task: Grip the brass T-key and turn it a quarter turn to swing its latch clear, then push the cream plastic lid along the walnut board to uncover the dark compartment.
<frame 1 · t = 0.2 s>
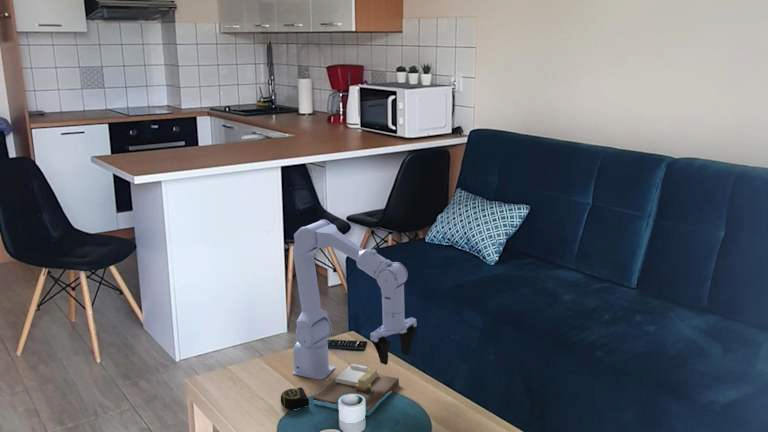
hand: (394, 358, 184), 10 cm above the table, fingers open, 7 cm apart
tape measure: (297, 406, 182), on the table
lock board: (357, 394, 186), on the table
t-key: (363, 381, 183), point 5 cm above the table, hinge at 0.0°
lid: (357, 375, 190), point 3 cm above the table, slide at 0.0 cm
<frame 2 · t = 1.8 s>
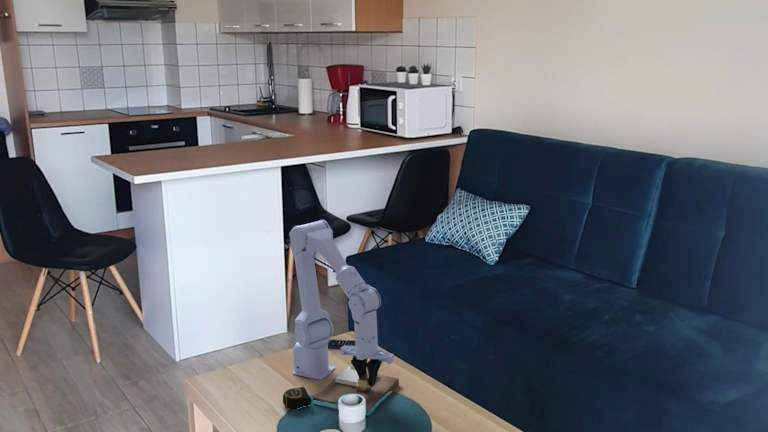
hand: (368, 383, 182), 4 cm above the table, fingers closed on t-key, 2 cm apart
t-key: (363, 381, 183), point 5 cm above the table, hinge at 0.0°, touching gripper
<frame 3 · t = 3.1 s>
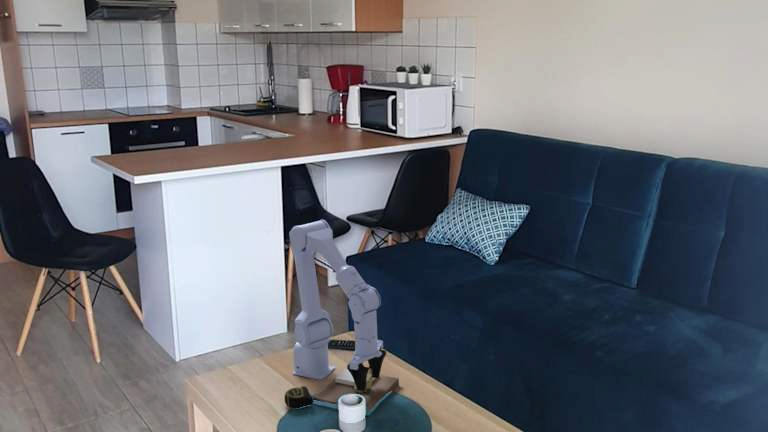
hand: (368, 383, 182), 4 cm above the table
t-key: (363, 382, 182), point 5 cm above the table, hinge at 24.1°, touching gripper
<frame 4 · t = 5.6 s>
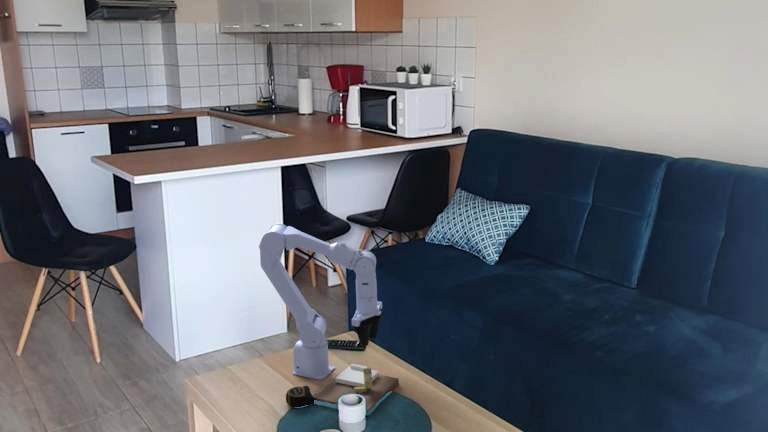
hand: (368, 341, 196), 9 cm above the table, fingers open, 4 cm apart
tape measure: (302, 404, 183), on the table, touching lock board
t-key: (363, 383, 182), point 5 cm above the table, hinge at 30.2°
everything else where it was.
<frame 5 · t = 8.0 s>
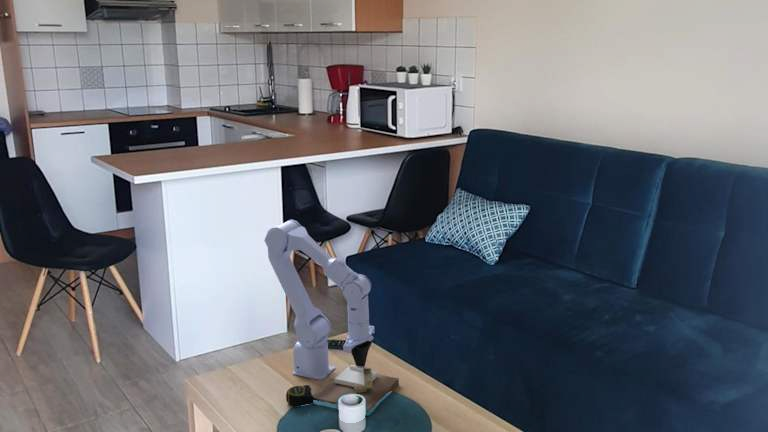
hand: (360, 366, 193), 4 cm above the table, fingers closed
tape measure: (302, 403, 183), on the table
t-key: (363, 383, 182), point 5 cm above the table, hinge at 30.6°
lid: (356, 375, 189), point 3 cm above the table, slide at 0.5 cm, touching gripper
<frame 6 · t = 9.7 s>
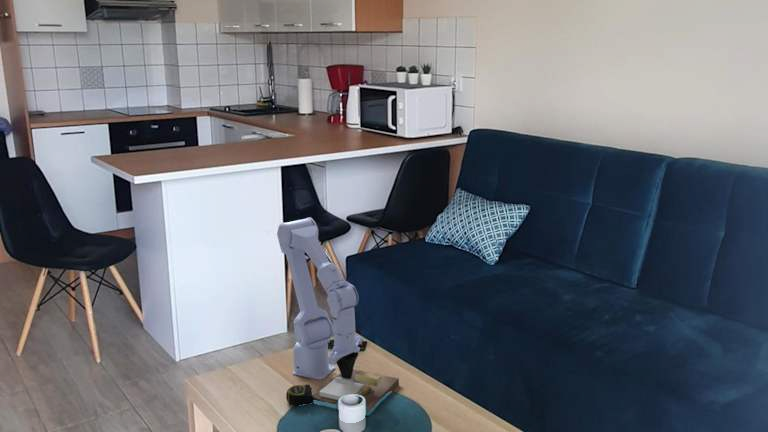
hand: (346, 378, 186), 4 cm above the table, fingers closed
t-key: (365, 384, 181), point 5 cm above the table, hinge at 82.0°
lid: (342, 388, 182), point 3 cm above the table, slide at 8.2 cm, touching gripper
everything else where it was.
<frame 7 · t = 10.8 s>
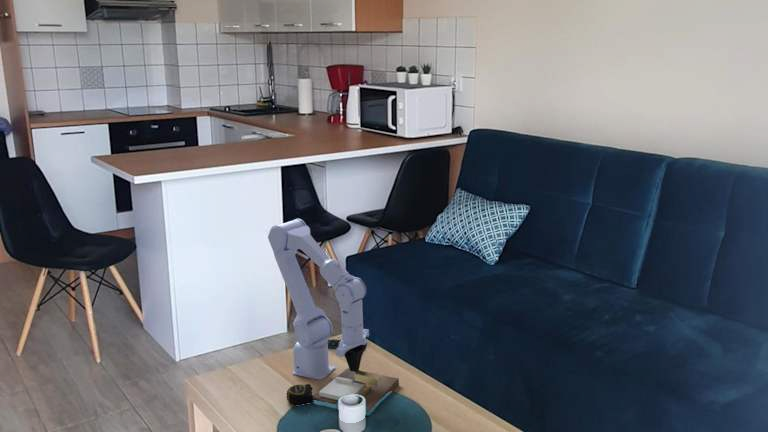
hand: (354, 370, 190), 4 cm above the table, fingers closed
t-key: (365, 384, 181), point 5 cm above the table, hinge at 85.6°
lid: (342, 388, 182), point 3 cm above the table, slide at 8.3 cm
everything else where it was.
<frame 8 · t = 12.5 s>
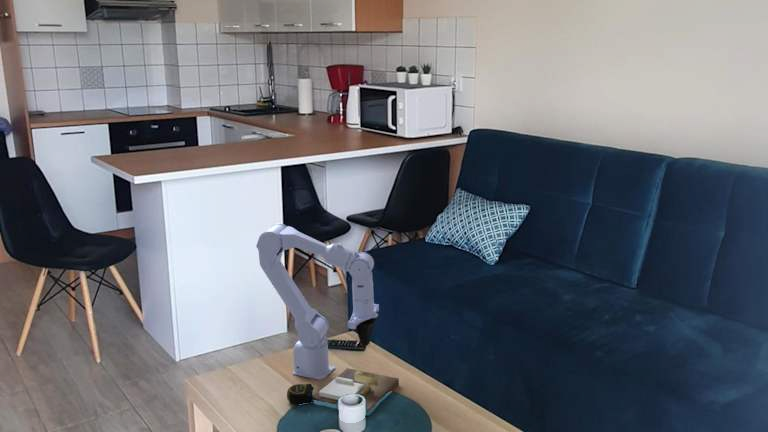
hand: (365, 343, 195), 9 cm above the table, fingers closed
t-key: (365, 384, 181), point 5 cm above the table, hinge at 87.1°
at the end: t-key at +87° (first picture: +0°); lid slide at 8.3 cm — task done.
